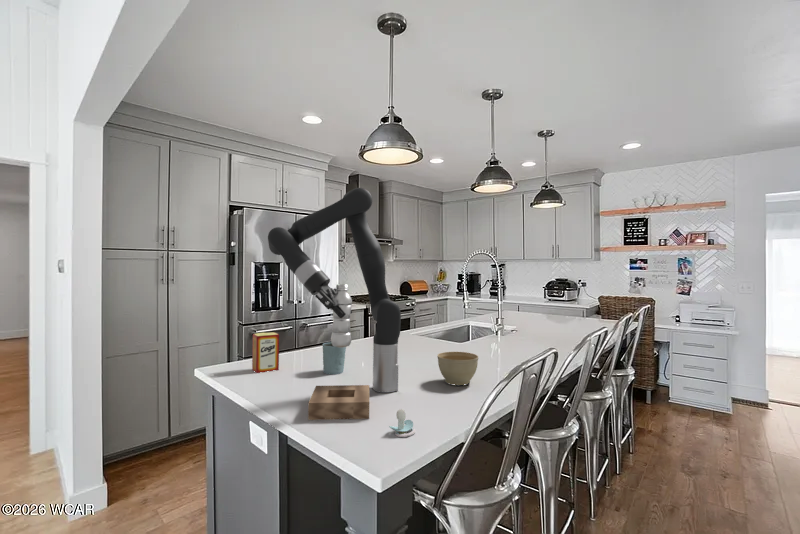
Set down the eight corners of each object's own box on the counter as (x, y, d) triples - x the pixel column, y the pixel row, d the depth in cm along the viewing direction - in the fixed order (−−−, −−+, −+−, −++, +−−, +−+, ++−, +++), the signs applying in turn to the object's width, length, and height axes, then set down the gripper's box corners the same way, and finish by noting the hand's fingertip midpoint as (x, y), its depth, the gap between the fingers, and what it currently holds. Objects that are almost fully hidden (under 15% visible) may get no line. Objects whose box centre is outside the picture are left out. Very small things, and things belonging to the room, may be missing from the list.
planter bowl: (476, 378, 163) (476, 351, 163) (480, 389, 147) (480, 360, 147) (437, 376, 164) (437, 350, 164) (436, 388, 148) (437, 359, 148)
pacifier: (420, 433, 108) (405, 426, 112) (421, 411, 108) (406, 404, 112) (400, 441, 103) (386, 433, 108) (401, 417, 103) (386, 410, 107)
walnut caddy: (369, 399, 134) (369, 385, 134) (369, 418, 117) (369, 402, 117) (315, 400, 133) (316, 385, 133) (308, 419, 116) (308, 403, 116)
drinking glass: (321, 369, 173) (321, 342, 173) (343, 368, 176) (344, 341, 176) (323, 375, 163) (323, 346, 163) (347, 374, 166) (348, 345, 166)
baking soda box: (274, 366, 176) (274, 331, 176) (278, 370, 171) (279, 333, 171) (252, 369, 171) (252, 333, 171) (256, 373, 165) (256, 335, 166)
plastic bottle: (341, 344, 130) (342, 283, 130) (355, 347, 125) (356, 284, 125) (326, 347, 125) (327, 284, 125) (340, 350, 120) (341, 285, 120)
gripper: (311, 269, 119) (348, 309, 117) (328, 269, 133) (361, 305, 131) (294, 286, 120) (331, 326, 118) (313, 284, 134) (346, 320, 132)
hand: (346, 315), depth 125 cm, fingers closed on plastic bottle, 6 cm apart
